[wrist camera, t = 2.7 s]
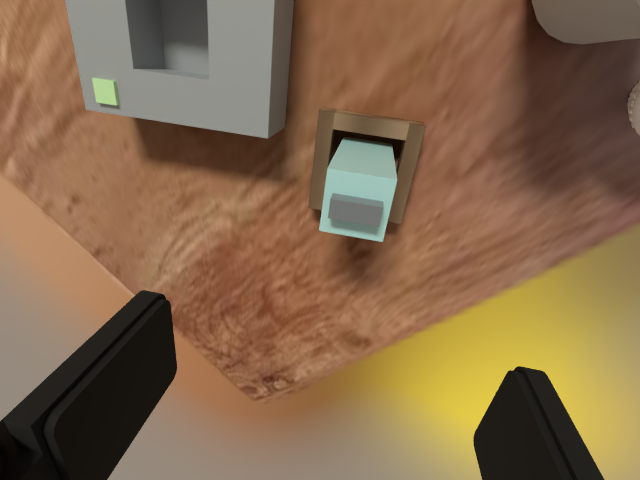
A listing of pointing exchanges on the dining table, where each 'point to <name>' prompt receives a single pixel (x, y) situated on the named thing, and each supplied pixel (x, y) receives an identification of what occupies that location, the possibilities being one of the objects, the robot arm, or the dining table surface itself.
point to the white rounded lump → (634, 107)
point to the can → (589, 20)
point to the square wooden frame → (372, 126)
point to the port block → (186, 61)
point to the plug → (359, 189)
